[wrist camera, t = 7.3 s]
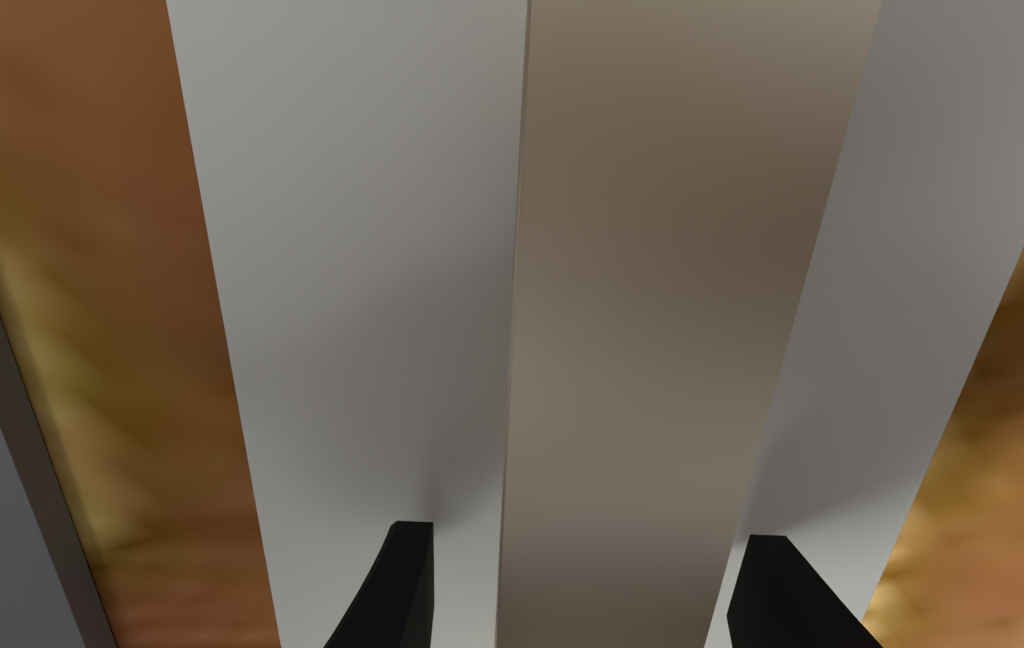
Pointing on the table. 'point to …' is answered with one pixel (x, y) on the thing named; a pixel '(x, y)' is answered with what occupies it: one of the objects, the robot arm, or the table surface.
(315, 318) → the mat
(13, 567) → the rack
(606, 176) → the rail
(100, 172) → the table surface
